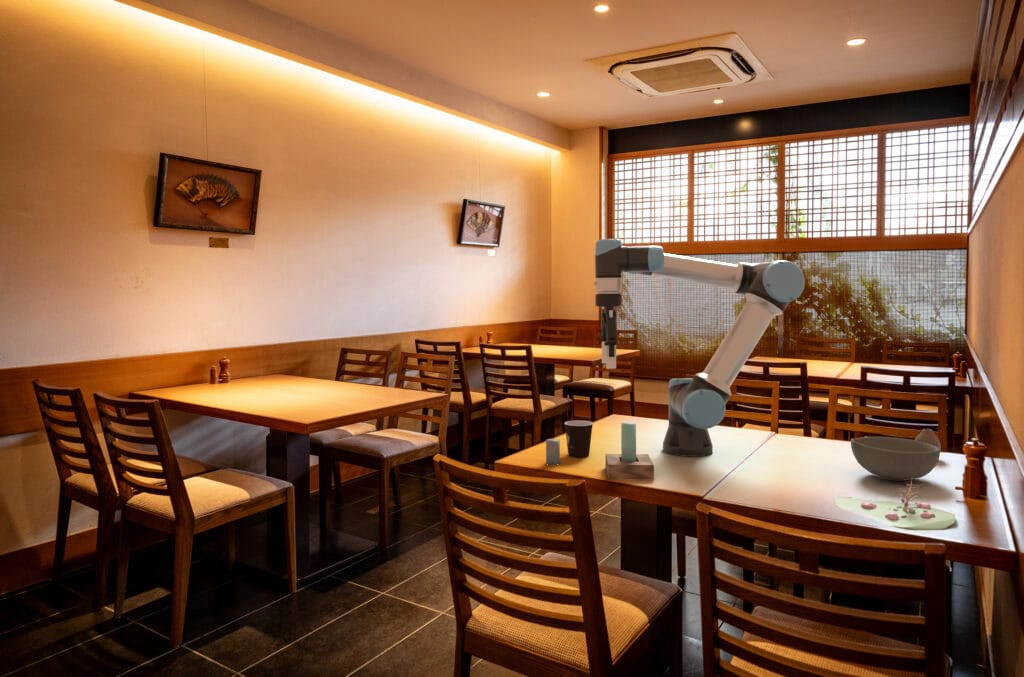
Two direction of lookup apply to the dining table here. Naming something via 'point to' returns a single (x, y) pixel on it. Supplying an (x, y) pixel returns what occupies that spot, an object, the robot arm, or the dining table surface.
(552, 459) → the grey-blue block
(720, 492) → the dining table surface
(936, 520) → the plant
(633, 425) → the teal dowel
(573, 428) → the coffee mug
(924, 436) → the vase
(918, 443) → the bowl
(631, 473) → the socket block
